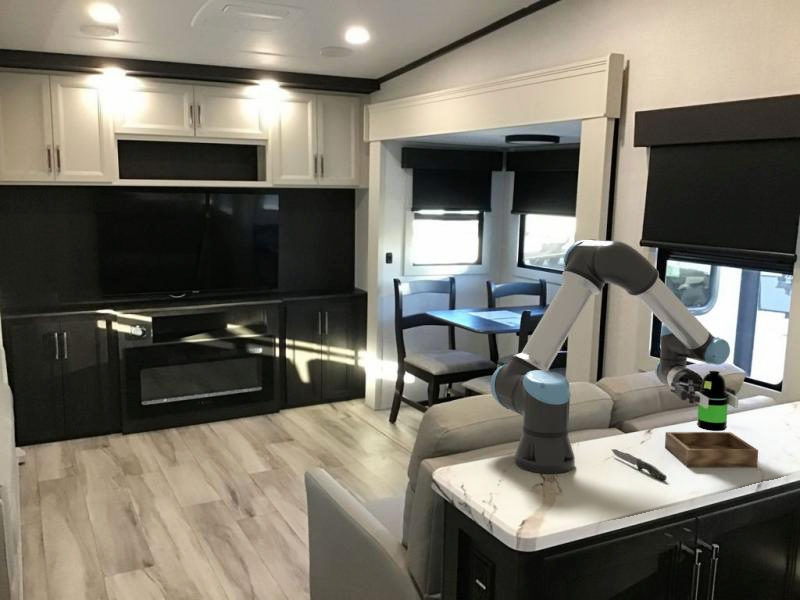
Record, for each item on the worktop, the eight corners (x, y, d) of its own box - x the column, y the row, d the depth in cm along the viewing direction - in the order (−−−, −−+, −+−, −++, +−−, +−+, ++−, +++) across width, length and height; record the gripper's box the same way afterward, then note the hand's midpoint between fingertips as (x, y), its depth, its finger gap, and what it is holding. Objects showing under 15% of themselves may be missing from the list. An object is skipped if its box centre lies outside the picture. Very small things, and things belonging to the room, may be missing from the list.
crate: (686, 467, 178) (687, 450, 178) (664, 447, 193) (665, 432, 192) (757, 467, 178) (758, 450, 177) (729, 447, 193) (730, 432, 192)
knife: (608, 456, 187) (609, 445, 186) (612, 455, 187) (613, 445, 187) (663, 483, 168) (663, 471, 167) (667, 482, 168) (668, 470, 168)
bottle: (704, 421, 190) (707, 367, 188) (731, 427, 184) (734, 372, 182) (691, 426, 185) (694, 371, 183) (718, 433, 180) (721, 376, 178)
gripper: (719, 394, 202) (759, 416, 179) (650, 394, 202) (682, 417, 179) (720, 368, 201) (761, 388, 178) (651, 369, 201) (683, 389, 178)
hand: (721, 403), depth 179 cm, fingers closed on bottle, 7 cm apart
